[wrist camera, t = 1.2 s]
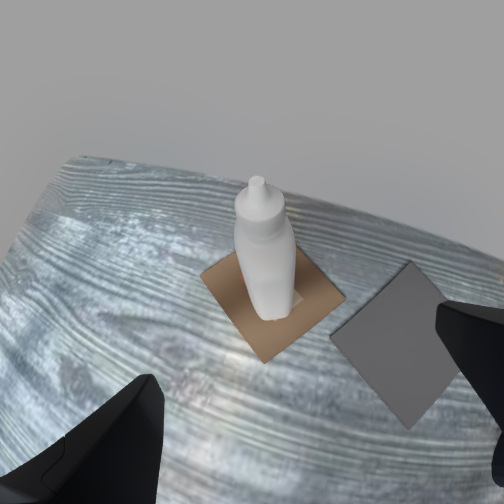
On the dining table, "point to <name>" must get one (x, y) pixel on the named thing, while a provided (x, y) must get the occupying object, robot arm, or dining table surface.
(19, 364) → the dining table surface
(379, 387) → the mat
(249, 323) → the board
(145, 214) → the dining table surface
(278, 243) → the eye dropper bottle
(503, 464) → the humidifier
